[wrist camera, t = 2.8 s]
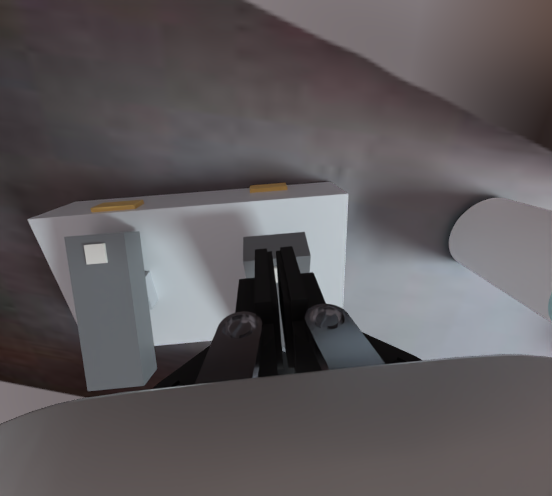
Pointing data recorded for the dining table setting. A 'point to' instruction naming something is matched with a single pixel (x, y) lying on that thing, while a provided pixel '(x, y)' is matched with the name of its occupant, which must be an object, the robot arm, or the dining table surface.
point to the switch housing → (204, 246)
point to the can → (508, 249)
